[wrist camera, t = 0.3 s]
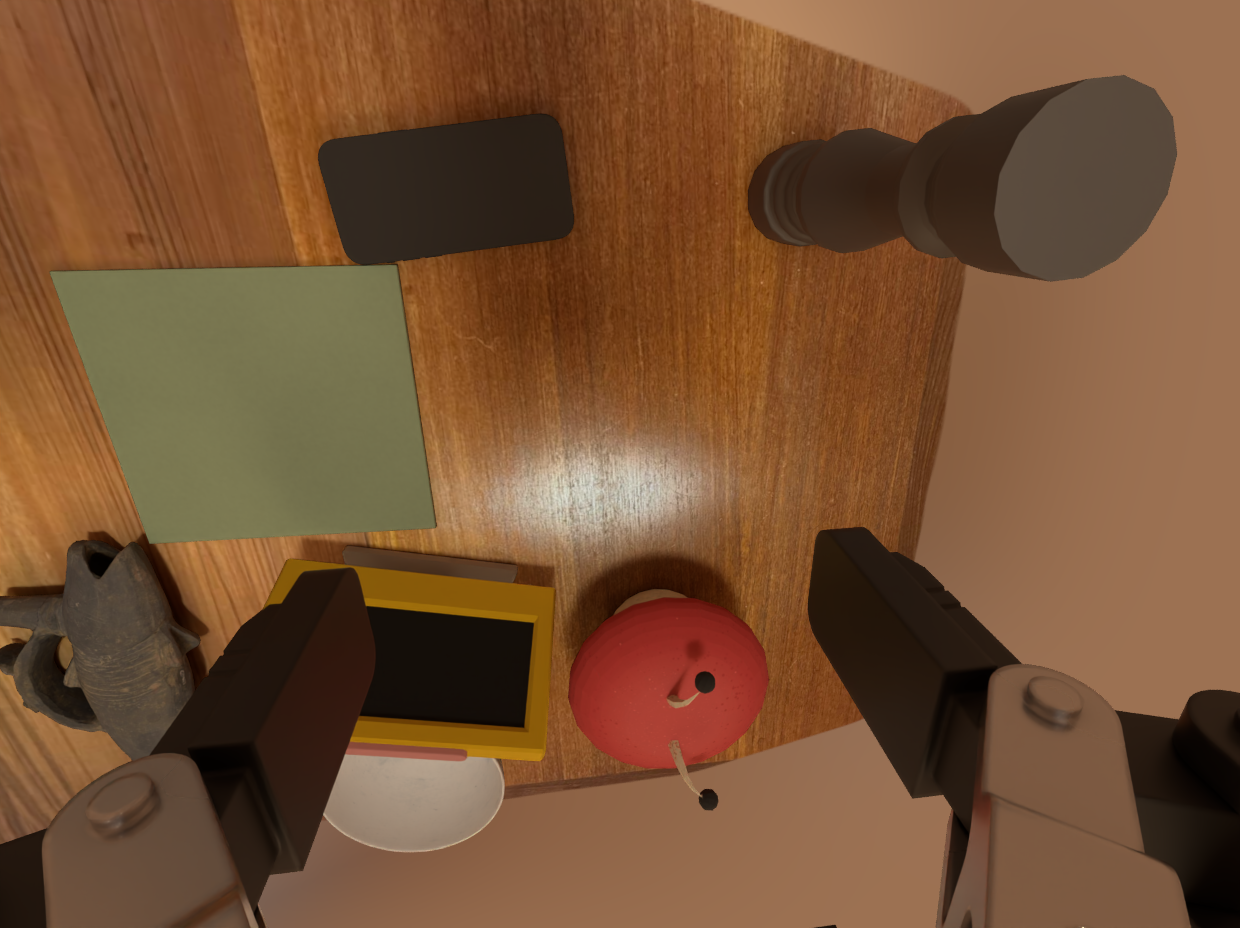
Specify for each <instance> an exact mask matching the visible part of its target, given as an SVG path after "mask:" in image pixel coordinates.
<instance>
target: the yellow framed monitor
mask: <svg viewBox="0 0 1240 928" xmlns="http://www.w3.org/2000/svg"><path fill="white" fill-rule="evenodd" d="M342 554H343V558H344V563H345V565H344V564H335V563H326V562H317V561H308V560H299V559H288V560H286V562H285V564H284V566H283V568H282V570H281V573H280V575H279V577H278V579H277V581H276V583H275V585H274V587H273V589H272V591H271V593H270V595H269V597H268V599H267V601H266V603H265V605H264V608H265V607H267V606H268V605H269V604H280V603H282V602H283V600H284V598H285V597H286V595H287V594H288V592H289V591H290V589H291V588H292V586H293V585H294V583H295V582H296V580H297V579H298V577H299V576H300V574H301V573H303V572H304V571H312V570H324V569H336V568H349V567H352V568H354V569H355V570H356V572H357V574H358V576H359V580H360V584H361V588H362V592H363V596H364V600H365V604H366V608H367V612H368V616H369V620H370V625H371V629H372V633H373V637H374V642H375V651H376V659H375V670H374V675H373V678H372V682H371V684H370V687H369V690H368V693H367V695H366V698H365V701H364V704H363V706H362V709H361V712H360V715H359V717H358V720H357V723H356V726H355V728H354V731H353V734H352V737H351V739H350V742H349V745H348V748H347V750H346V753H345V754H347V755H363V756H379V757H395V758H411V759H427V760H444V761H465V760H466V758H467V757H483V758H498V759H514V760H530V761H541V760H542V759H543V757H544V755H545V752H546V740H547V724H548V708H549V693H550V677H551V661H552V646H553V630H554V614H555V599H556V589H554V588H552V587H543V586H534V585H525V584H515V583H513V582H514V579H515V577H516V575H517V571H518V567H517V566H516V565H511V564H502V563H493V562H485V561H476V560H468V559H459V558H450V557H442V556H433V555H424V554H416V553H407V552H399V551H390V550H381V549H373V548H364V547H356V546H347V547H346V548H345V549H344V551H343V552H342ZM264 608H263V609H264Z"/></svg>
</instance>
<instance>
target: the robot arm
mask: <svg viewBox="0 0 1240 928" xmlns="http://www.w3.org/2000/svg"><path fill="white" fill-rule="evenodd" d="M808 615H809V621H810V625H811V628H812V631H813V633H814V636H815V638H816V639H817V641H818V643H819V644H820V646H821V648H822V649H823V651H824V653H825V654H826V656H827V658H828V659H829V661H830V663H831V664H832V666H833V668H834V669H835V671H836V673H837V674H838V676H839V677H840V679H841V681H842V682H843V684H844V686H845V687H846V689H847V691H848V692H849V694H850V696H851V697H852V699H853V701H854V702H855V704H856V706H857V707H858V709H859V711H860V712H861V714H862V716H863V717H864V719H865V721H866V722H867V724H868V726H869V727H870V729H871V731H872V732H873V734H874V735H875V737H876V739H877V740H878V742H879V744H880V745H881V747H882V749H883V750H884V752H885V754H886V755H887V757H888V759H889V760H890V762H891V764H892V765H893V767H894V769H895V770H896V772H897V773H898V775H899V777H900V779H901V780H902V782H903V784H904V785H905V787H906V789H907V790H908V792H909V793H910V795H911V797H912V798H921V797H929V796H936V795H944V797H945V798H946V800H947V801H948V803H949V804H950V806H951V807H952V810H951V814H950V817H949V821H948V826H947V834H946V844H945V852H944V861H943V869H942V878H941V887H940V896H939V904H938V912H937V921H936V928H1240V693H1237V692H1232V691H1224V690H1206V691H1200V692H1197V693H1195V694H1193V695H1192V696H1191V697H1190V698H1189V700H1188V702H1187V704H1186V706H1185V708H1184V710H1183V712H1182V714H1181V716H1180V718H1179V720H1178V719H1171V718H1164V717H1157V716H1150V715H1143V714H1136V713H1129V712H1123V711H1116V710H1114V709H1113V708H1112V707H1111V705H1110V704H1109V703H1108V702H1107V701H1106V700H1105V699H1104V698H1103V697H1102V696H1101V695H1099V694H1098V693H1097V692H1096V691H1094V690H1093V689H1091V688H1090V687H1088V686H1087V685H1085V684H1084V683H1082V682H1080V681H1078V680H1076V679H1075V678H1073V677H1070V676H1068V675H1066V674H1063V673H1061V672H1058V671H1055V670H1052V669H1049V668H1045V667H1041V666H1036V665H1029V664H1021V662H1020V661H1019V660H1018V659H1017V658H1016V657H1015V656H1014V655H1013V654H1012V653H1011V652H1009V650H1008V649H1006V647H1004V646H1003V645H1002V643H1000V642H999V641H998V640H997V639H996V638H995V637H994V636H993V635H992V634H991V633H990V632H989V631H988V630H987V629H986V628H985V627H984V626H983V625H982V624H981V623H980V622H979V621H978V620H977V619H976V618H975V617H974V616H973V615H972V614H971V613H970V612H969V611H968V610H967V609H966V608H965V607H961V605H960V602H959V601H958V600H957V599H956V598H955V597H954V596H953V595H952V594H951V593H950V592H949V591H945V590H944V586H943V585H942V584H941V583H940V582H939V581H938V580H937V579H936V578H935V577H934V576H933V575H932V574H931V573H930V572H929V571H928V570H927V569H926V568H925V567H923V566H921V565H919V564H918V563H916V562H914V561H912V560H910V559H909V558H907V557H905V556H903V555H901V554H900V553H898V552H889V551H888V550H887V549H886V548H885V547H884V546H883V545H882V544H881V543H880V542H879V541H878V540H877V539H876V538H875V537H874V535H873V534H872V533H871V532H870V531H869V530H868V529H866V528H864V527H854V528H842V529H830V530H821V531H820V532H819V533H818V535H817V537H816V541H815V547H814V555H813V564H812V572H811V580H810V588H809V597H808ZM375 659H376V651H375V642H374V637H373V633H372V629H371V625H370V620H369V616H368V612H367V608H366V604H365V600H364V596H363V592H362V588H361V584H360V580H359V576H358V574H357V572H356V570H355V569H354V568H352V567H349V568H336V569H324V570H312V571H304V572H303V573H301V574H300V576H299V577H298V579H297V580H296V582H295V583H294V585H293V586H292V588H291V589H290V591H289V592H288V594H287V595H286V597H285V598H284V600H283V602H282V603H280V604H269V605H268V606H267V607H265V608H264V609H263V610H261V611H260V612H259V613H258V614H256V615H255V616H254V617H252V618H251V619H250V620H249V621H247V622H246V623H245V624H243V625H242V626H241V627H240V629H239V630H238V631H237V633H236V634H235V636H234V637H233V638H232V640H231V641H230V643H229V644H228V645H227V647H226V648H225V650H224V655H223V656H220V657H219V658H218V659H217V661H216V662H215V664H214V665H213V666H212V668H211V669H210V671H209V676H208V677H205V678H204V679H203V681H202V682H201V683H200V685H199V686H198V688H197V689H196V690H195V692H194V693H193V695H192V696H191V697H190V699H189V700H188V702H187V703H186V704H185V706H184V707H183V709H182V710H181V711H180V713H179V714H178V716H177V717H176V718H175V720H174V721H173V723H172V724H171V726H170V727H169V728H168V730H167V731H166V733H165V734H164V735H163V737H162V738H161V740H160V741H159V742H158V744H157V745H156V747H155V748H154V749H153V751H152V752H151V754H150V755H149V756H146V757H142V758H139V759H136V760H133V761H131V762H128V763H126V764H124V765H121V766H119V767H117V768H115V769H113V770H111V771H109V772H108V773H106V774H104V775H102V776H101V777H99V778H98V779H96V780H95V781H93V782H91V783H90V784H89V785H88V786H86V787H85V788H84V789H82V790H81V791H80V792H78V793H77V794H76V795H75V796H74V797H73V798H72V799H71V800H69V801H68V803H67V804H66V805H65V806H64V807H63V808H62V809H61V810H60V811H59V812H58V814H57V815H56V816H55V818H54V819H53V820H52V822H51V824H50V825H49V827H48V828H46V829H44V830H41V831H38V832H35V833H32V834H29V835H26V836H23V837H20V838H18V839H15V840H12V841H9V842H6V843H3V844H0V928H268V927H267V924H266V922H265V919H264V916H263V913H262V911H261V909H260V906H259V904H258V902H259V899H260V897H261V894H262V892H263V889H264V887H265V885H266V882H267V880H268V877H269V875H273V874H281V873H289V872H297V871H303V869H304V866H305V863H306V860H307V858H308V855H309V852H310V849H311V847H312V843H313V841H314V838H315V836H316V833H317V830H318V827H319V824H320V822H321V819H322V816H323V814H324V811H325V808H326V805H327V803H328V800H329V797H330V794H331V792H332V789H333V786H334V783H335V781H336V778H337V775H338V772H339V770H340V767H341V764H342V761H343V759H344V756H345V753H346V750H347V748H348V745H349V742H350V739H351V737H352V734H353V731H354V728H355V726H356V723H357V720H358V717H359V715H360V712H361V709H362V706H363V704H364V701H365V698H366V695H367V693H368V690H369V687H370V684H371V682H372V678H373V675H374V670H375ZM816 928H837V927H836V925H831V926H824V927H816Z"/></svg>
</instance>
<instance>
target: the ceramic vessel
mask: <svg viewBox="0 0 1240 928" xmlns="http://www.w3.org/2000/svg"><path fill="white" fill-rule="evenodd" d="M0 626H10V627H20V628H27V629H31V630H32V631H33V634H32V636H31V638H30V640H29V641H28V642H27V644H21V643H13V644H9V645H6V646H4V647H2V648H1V649H0V669H1V671H2V672H3V673H4V674H6V675H12V676H13V678H14V681H15V684H16V688H17V691H18V692H19V694H20V695H21V696H22V699H23V700H24V702H23V705H24V706H25V707H26V708H30V709H31V710H32V711H34V712H35V713H37V712H39V711H40V712H41V713H43V714H44V715H46V716H48V717H49V718H51V719H52V720H54V721H56V722H57V723H59V724H62V725H64V726H67V727H70V728H73V729H79V730H84V731H89V732H95V731H103V732H107V733H108V734H109V735H110V736H111V738H112V739H113V740H114V741H115V742H116V744H117V745H118V746H119V747H120V748H121V750H123V751H124V752H125V753H126V754H127V755H128V756H129V757H130V758H131V760H132V761H133V760H136V759H139V758H142V757H146V756H149V755H150V754H151V752H152V751H153V749H154V748H155V747H156V745H157V744H158V742H159V741H160V740H161V738H162V737H163V735H164V734H165V733H166V731H167V730H168V728H169V727H170V726H171V724H172V723H173V721H174V720H175V718H176V717H177V716H178V714H179V713H180V711H181V710H182V709H183V707H184V706H185V704H186V703H187V702H188V700H189V699H190V697H191V696H192V695H193V693H194V692H195V687H194V680H193V673H192V670H191V667H190V664H189V661H188V658H187V656H186V653H187V652H188V651H190V650H191V649H193V648H195V647H196V646H198V645H199V644H200V641H201V640H200V637H199V635H197V634H196V633H194V632H192V631H190V630H187V629H185V628H183V627H181V626H180V625H178V624H177V623H176V621H175V620H174V618H173V617H172V611H171V608H170V606H169V603H168V601H167V598H166V596H165V594H164V591H163V589H162V587H161V585H160V583H159V581H158V579H157V576H156V574H155V572H154V570H153V568H152V565H151V563H150V561H149V559H148V558H147V556H146V554H145V552H144V551H143V549H142V548H141V547H140V546H139V545H138V544H137V543H135V542H130V543H129V544H128V545H127V546H126V547H125V548H124V549H123V550H122V551H120V550H118V549H117V548H115V547H113V546H111V545H109V544H107V543H105V542H102V541H96V540H91V541H88V540H81V541H76V542H74V543H73V544H72V545H71V546H70V547H69V549H68V553H67V571H66V581H65V587H64V593H62V594H56V595H34V596H0ZM62 636H68V638H69V641H70V642H71V643H72V647H73V658H72V660H71V662H70V665H69V666H68V668H67V670H66V673H65V675H63V674H62V673H61V672H60V670H59V669H58V668H57V666H56V664H55V662H54V653H55V650H56V647H57V645H58V642H59V640H60V638H61V637H62Z"/></svg>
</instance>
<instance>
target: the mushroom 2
mask: <svg viewBox="0 0 1240 928" xmlns="http://www.w3.org/2000/svg"><path fill="white" fill-rule="evenodd" d="M768 681H769V677H768V670H767V664H766V657H765V652H764V649H763V647H762V646H761V644H760V643H759V641H758V640H757V638H756V636H755V635H754V633H753V632H752V630H751V628H750V627H749V626H748V625H747V624H746V623H745V622H743V621H742V620H741V619H739V618H738V617H737V616H735V615H734V614H732V613H731V612H730V611H728V610H727V609H726V608H723V607H721V606H718V605H715V604H712V603H708V602H705V601H702V600H699V599H696V598H687V597H686V596H684V595H683V594H680V593H677V592H674V591H671V590H667V589H652V590H648V591H644V592H640V593H638V594H636V595H634V596H632V597H630V598H628V599H627V600H626V601H625V602H624V603H623V604H622V605H621V606H620V607H619V608H618V609H617V610H616V611H615V613H614V615H613V616H611V617H610V618H608V619H606V620H605V621H604V622H603V623H602V624H601V625H600V626H599V627H598V628H597V629H596V630H595V631H594V632H593V633H592V634H591V635H590V636H589V637H588V638H587V639H586V640H585V641H584V643H583V645H582V647H581V649H580V651H579V653H578V655H577V657H576V659H575V661H574V663H573V665H572V667H571V671H570V681H569V693H568V698H569V702H570V705H571V708H572V711H573V714H574V717H575V720H576V723H577V726H578V727H579V728H580V729H581V731H582V732H583V733H584V734H585V735H586V736H587V738H588V739H589V740H590V741H591V742H592V743H593V744H594V745H595V747H596V748H598V749H599V750H601V751H603V752H605V753H606V754H608V755H610V756H612V757H614V758H615V759H617V760H619V761H621V762H623V763H627V764H631V765H636V766H640V767H644V768H678V770H679V772H680V774H681V776H682V778H683V779H684V781H685V782H686V783H687V785H688V786H689V787H690V789H691V790H693V791H694V792H695V793H696V794H698V795H699V803H700V805H701V806H702V808H703V809H705V810H713V809H714V808H716V807H717V804H718V796H717V795H716V793H715V792H714V791H713V790H712V789H704V790H703V791H702V792H701V793H700V794H699V793H698V792H697V791H696V789H695V788H694V787H693V785H692V782H691V780H690V778H689V776H688V773H687V770H686V767H685V766H686V765H690V764H694V763H698V762H702V761H704V760H706V759H708V758H710V757H712V756H714V755H716V754H718V753H720V752H722V751H724V750H726V749H727V748H728V747H729V746H731V745H732V744H733V743H734V742H735V741H736V740H738V739H739V738H740V737H741V736H742V735H743V734H745V733H746V731H747V730H748V729H749V727H750V726H751V724H752V723H753V721H754V720H755V718H756V716H757V715H758V713H759V712H760V710H761V709H762V706H763V702H764V698H765V694H766V690H767V686H768Z"/></svg>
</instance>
